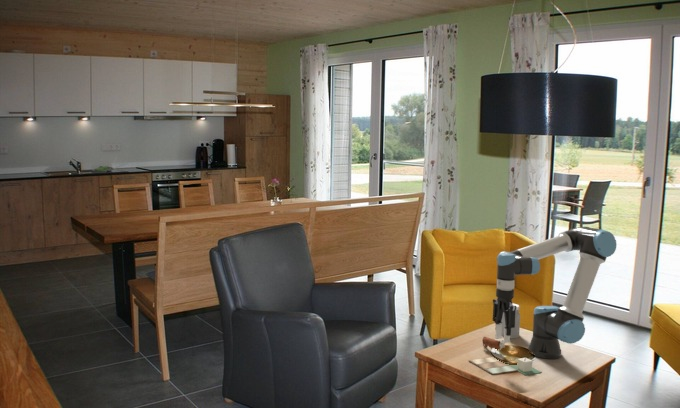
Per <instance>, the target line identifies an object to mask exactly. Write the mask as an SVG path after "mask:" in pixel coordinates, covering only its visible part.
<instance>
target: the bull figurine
mask: <svg viewBox="0 0 680 408" xmlns="http://www.w3.org/2000/svg"><path fill="white" fill-rule="evenodd" d="M505 344H506V343H504V339H503V340H502V339H495V338H491V337H487V336H483V338H482V347H483V348H482V349H484V350H485V351H486V352H488V347H489V348H490V349H491V350H493V349H494V350H495V349H497V351H498V349H499V350H503V348H506V345H505Z"/></svg>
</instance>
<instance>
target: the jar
mask: <svg viewBox="0 0 680 408" xmlns="http://www.w3.org/2000/svg"><path fill="white" fill-rule="evenodd" d="M512 305H514V306H516V311H515V328H511V335H510V339H517V338H519V337H520V328H521V327H520V326H521V324H520V323H521V314H520V304H516V303H514V302H512ZM506 311H508V310H506ZM501 322H502V323H500V324H502V338H504V327H506V325H505V316H504V312H503V316H502V320H501ZM508 326H509V325H508Z"/></svg>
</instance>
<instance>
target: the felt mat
mask: <svg viewBox="0 0 680 408" xmlns="http://www.w3.org/2000/svg"><path fill="white" fill-rule="evenodd" d="M508 365H509V364H508ZM510 366H512V367H514V368H516V369H517V365H510ZM517 370H519V369H517ZM517 372H518V373H520V374H522V375H524V376H529V375H535V374H541V373H542V371H541V370H539V369H536V368H534V367H532V371H527V372H523V371H521V370H519V371H517Z"/></svg>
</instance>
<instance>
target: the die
mask: <svg viewBox="0 0 680 408" xmlns="http://www.w3.org/2000/svg"><path fill="white" fill-rule="evenodd" d="M517 361H518V363H517V369H519V370H521V371H523V372H527V371H532V368H533V360H531V359H530V358H527V357H522V358H517Z"/></svg>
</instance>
